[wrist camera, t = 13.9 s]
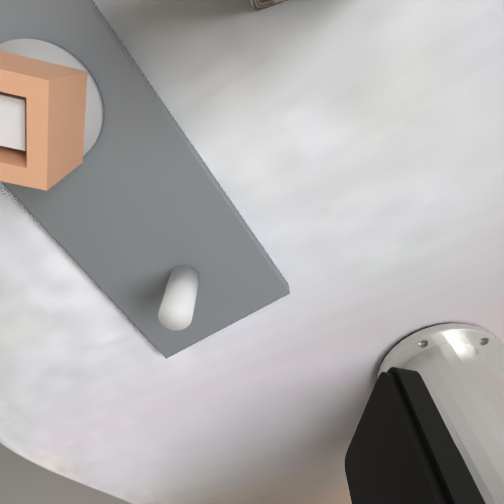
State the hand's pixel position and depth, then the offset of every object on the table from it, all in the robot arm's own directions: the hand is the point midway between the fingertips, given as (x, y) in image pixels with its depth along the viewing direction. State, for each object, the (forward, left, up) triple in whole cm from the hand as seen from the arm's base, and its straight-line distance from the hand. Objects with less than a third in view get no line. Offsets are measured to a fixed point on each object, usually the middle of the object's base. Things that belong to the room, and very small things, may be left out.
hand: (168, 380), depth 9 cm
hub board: (+1, +9, -25) cm, 26 cm away
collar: (+8, +9, -22) cm, 25 cm away
